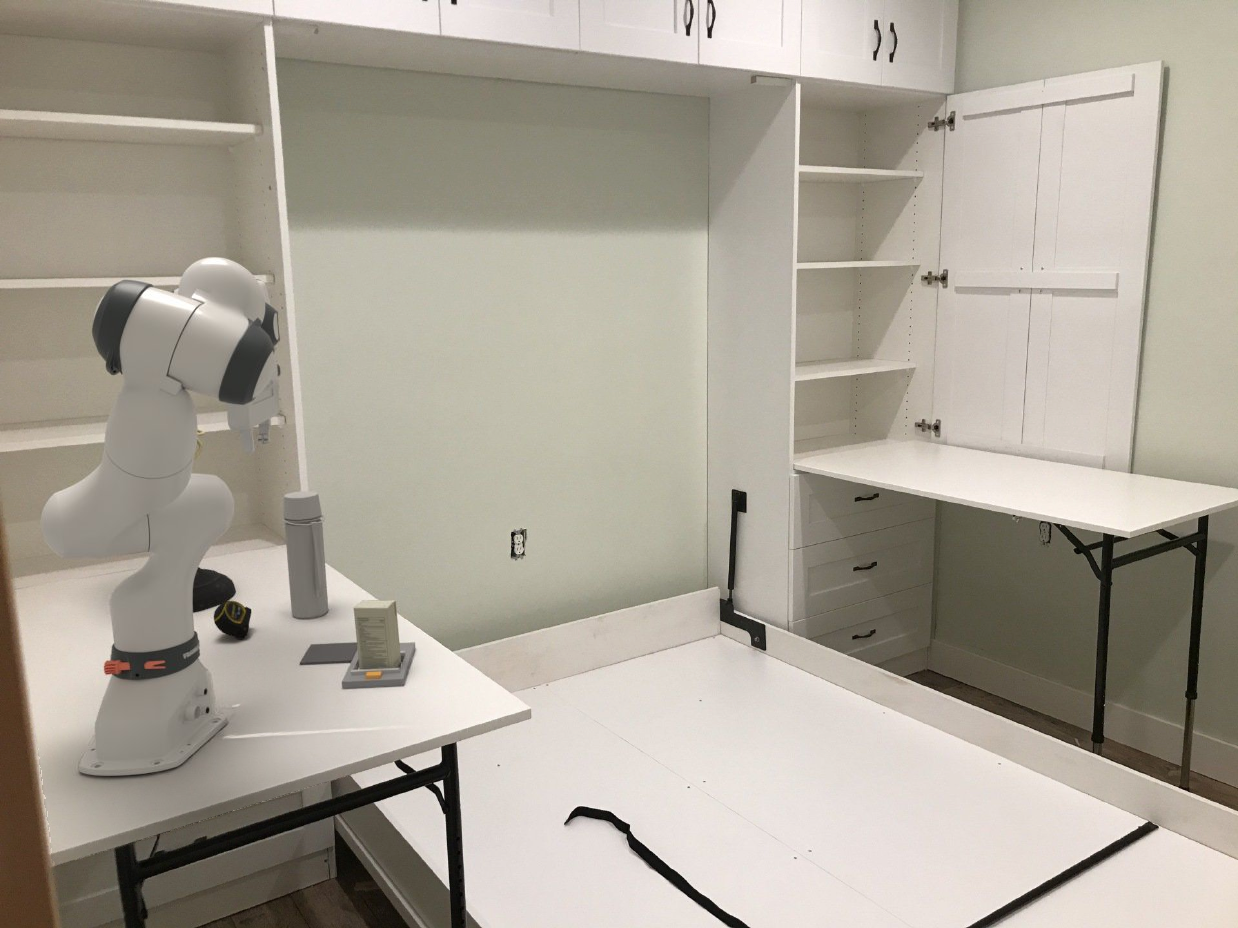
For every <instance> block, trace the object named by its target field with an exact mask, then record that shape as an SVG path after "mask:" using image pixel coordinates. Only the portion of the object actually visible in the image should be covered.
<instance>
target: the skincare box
mask: <svg viewBox="0 0 1238 928" xmlns="http://www.w3.org/2000/svg"><path fill="white" fill-rule="evenodd" d="M397 608H398V607H397V601H396V600H395V599H392V600H389V599H386V600H385V599H384V600H383V599H364V600H361V601H360V602H359V603H357V604H356V605H355V606H354V607H353V616H354V626H355V636H356V642H357V649H358V660H359V666H358V668H359V669H358V670H361V669H383V668H400V669H401V666H402V662H401V655H400V644H399V643H400V634H399V632H400V631H399V621H398V620H399V619H398V611H397Z"/></svg>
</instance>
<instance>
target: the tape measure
mask: <svg viewBox="0 0 1238 928" xmlns="http://www.w3.org/2000/svg"><path fill="white" fill-rule="evenodd" d="M251 617H252V608H250V607H247V606H244V605H243V604H241V602H238V601H235V600H228V601H226V602H223V603H222V604H221V605H218V606H216V609H215V610H214V613H213V622H214V625H215V626H216V628H217V629H218V630H219V631H220V632H221V633H222V634H224V635H227V636H228V637H229V636H231V637H234V638H236V639H238V640H244V639H245V638H246V637H247V636H248V635H249V631H250V620H251Z"/></svg>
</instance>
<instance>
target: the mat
mask: <svg viewBox="0 0 1238 928" xmlns="http://www.w3.org/2000/svg"><path fill="white" fill-rule="evenodd" d="M356 651H357V641H356V642H355V641H354V642H353V641H352V642H334V643H332V642H331V643H313V644H310V646H309V647H308V648H307V650H306V652H305V653H304V655H303V656H302V658H301V660H300V661H299V666H304V665H327V664H345V663H346V664H347V663H350V664H351V661H352V659H353V657H354V655H355V653H356Z"/></svg>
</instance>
